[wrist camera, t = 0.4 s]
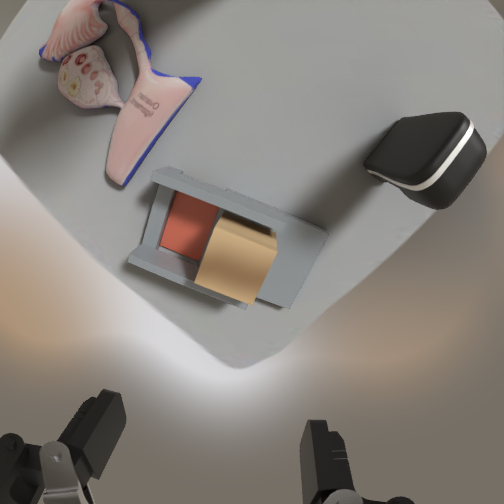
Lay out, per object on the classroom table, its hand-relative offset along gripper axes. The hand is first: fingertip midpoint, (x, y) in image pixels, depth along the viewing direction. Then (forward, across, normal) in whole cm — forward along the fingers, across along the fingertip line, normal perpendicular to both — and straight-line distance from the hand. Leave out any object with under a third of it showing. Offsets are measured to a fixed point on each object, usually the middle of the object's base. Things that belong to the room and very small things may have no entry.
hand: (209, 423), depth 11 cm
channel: (+20, +2, -3) cm, 20 cm away
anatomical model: (+19, +16, -20) cm, 31 cm away
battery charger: (+19, -13, -13) cm, 27 cm away
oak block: (+18, 0, -3) cm, 19 cm away
